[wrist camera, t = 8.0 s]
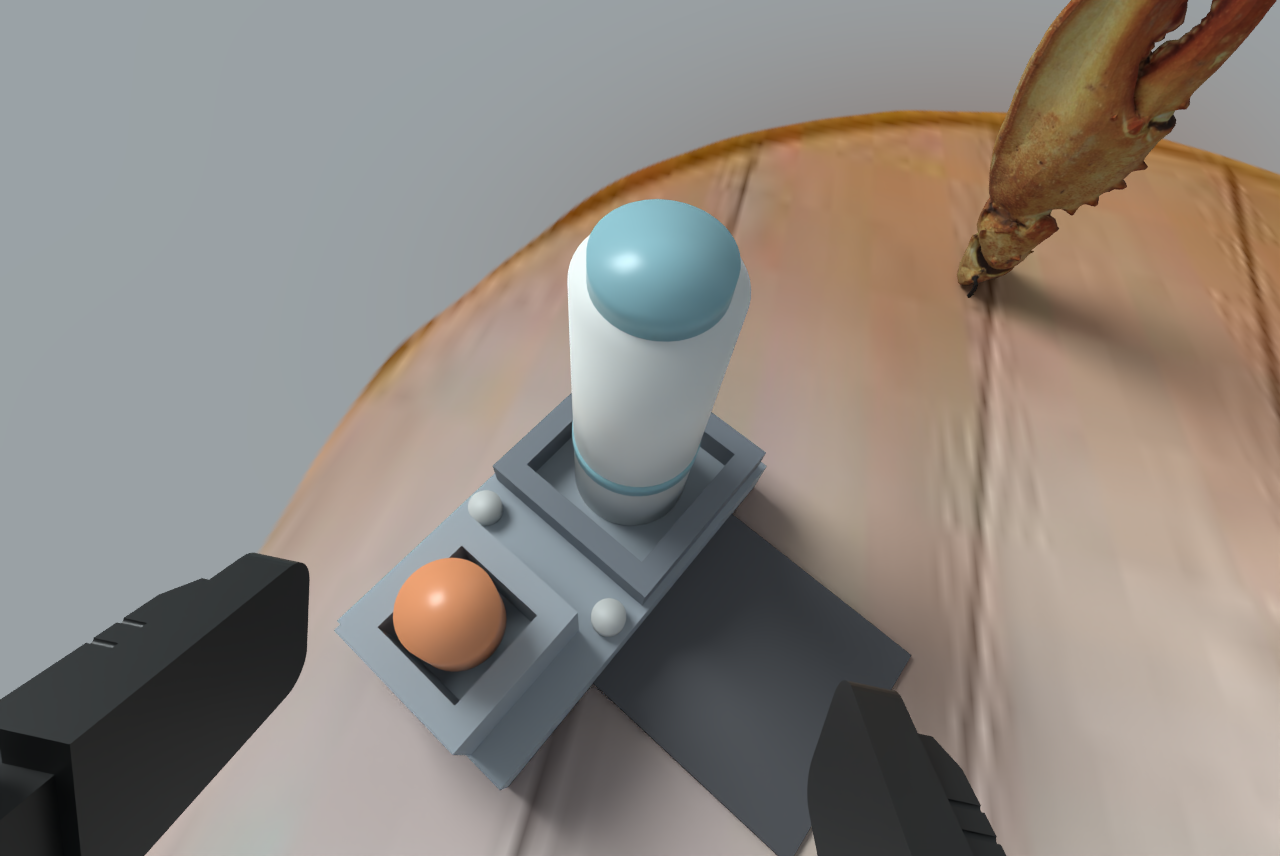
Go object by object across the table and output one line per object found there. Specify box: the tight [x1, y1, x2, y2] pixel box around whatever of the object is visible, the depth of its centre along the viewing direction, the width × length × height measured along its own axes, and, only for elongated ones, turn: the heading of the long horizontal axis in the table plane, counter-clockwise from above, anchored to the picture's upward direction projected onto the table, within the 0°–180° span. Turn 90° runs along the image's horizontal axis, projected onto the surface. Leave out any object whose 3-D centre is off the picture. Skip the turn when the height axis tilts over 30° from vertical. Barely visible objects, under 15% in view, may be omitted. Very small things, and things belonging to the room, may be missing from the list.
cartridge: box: [568, 199, 751, 526], centre depth 22 cm, size 5×5×14 cm
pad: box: [593, 514, 911, 856], centre depth 27 cm, size 10×10×1 cm
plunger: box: [393, 558, 507, 672], centre depth 21 cm, size 3×3×2 cm
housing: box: [334, 393, 766, 790], centre depth 27 cm, size 17×9×6 cm, turn 140°
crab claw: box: [957, 0, 1276, 298], centre depth 30 cm, size 7×5×20 cm
